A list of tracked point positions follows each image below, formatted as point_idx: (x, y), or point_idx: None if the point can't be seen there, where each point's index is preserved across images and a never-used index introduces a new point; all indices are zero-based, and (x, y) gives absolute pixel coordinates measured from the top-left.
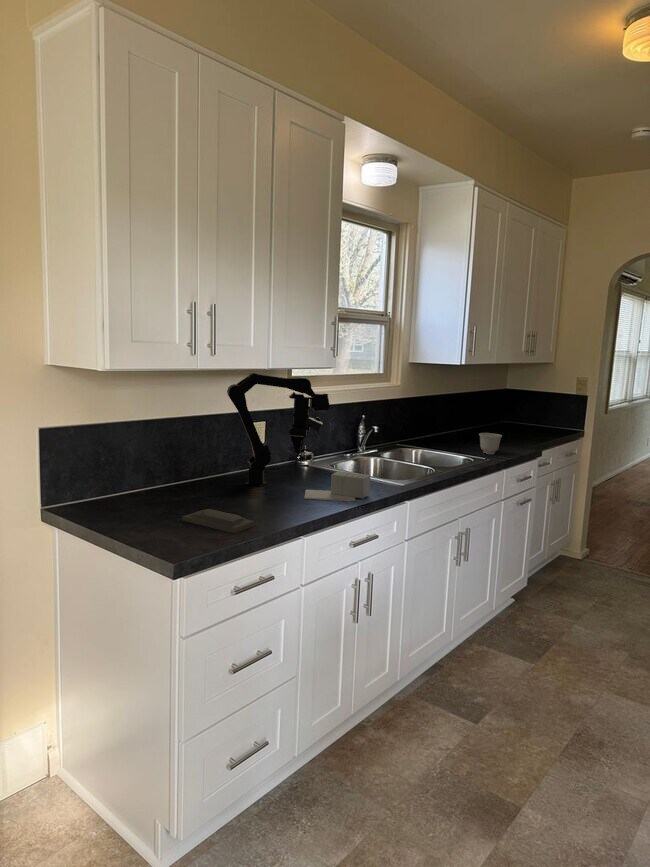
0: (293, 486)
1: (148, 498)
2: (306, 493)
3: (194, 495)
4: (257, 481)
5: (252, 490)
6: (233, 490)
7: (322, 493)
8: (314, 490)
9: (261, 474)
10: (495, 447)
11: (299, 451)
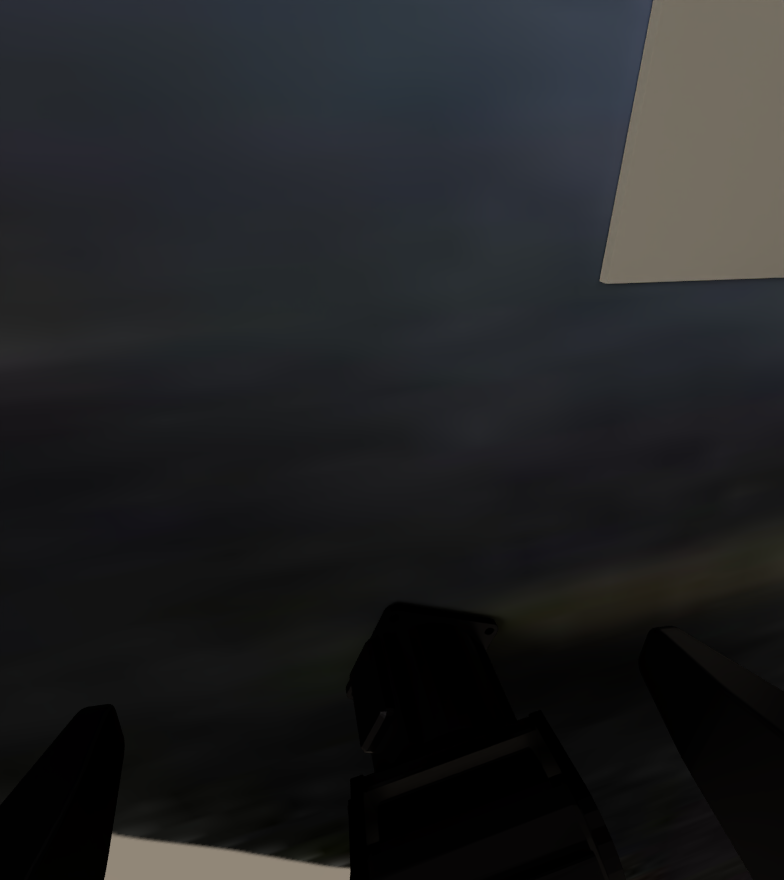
0: (438, 410)
1: (702, 843)
2: (743, 265)
3: (675, 772)
4: (480, 660)
5: (586, 624)
6: (587, 696)
7: (770, 89)
8: (643, 189)
9: (483, 690)
10: None
11: (711, 649)
